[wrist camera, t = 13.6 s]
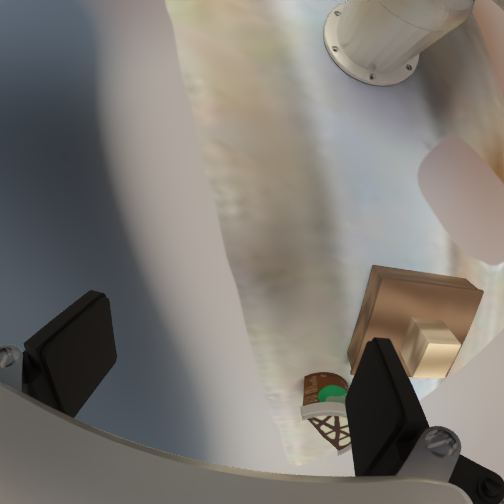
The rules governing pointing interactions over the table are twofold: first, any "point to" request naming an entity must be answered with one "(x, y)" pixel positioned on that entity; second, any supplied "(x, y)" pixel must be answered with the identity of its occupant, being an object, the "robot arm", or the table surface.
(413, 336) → the birch block
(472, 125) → the table surface
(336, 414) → the food container
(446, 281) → the walnut box
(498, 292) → the table surface
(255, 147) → the table surface
